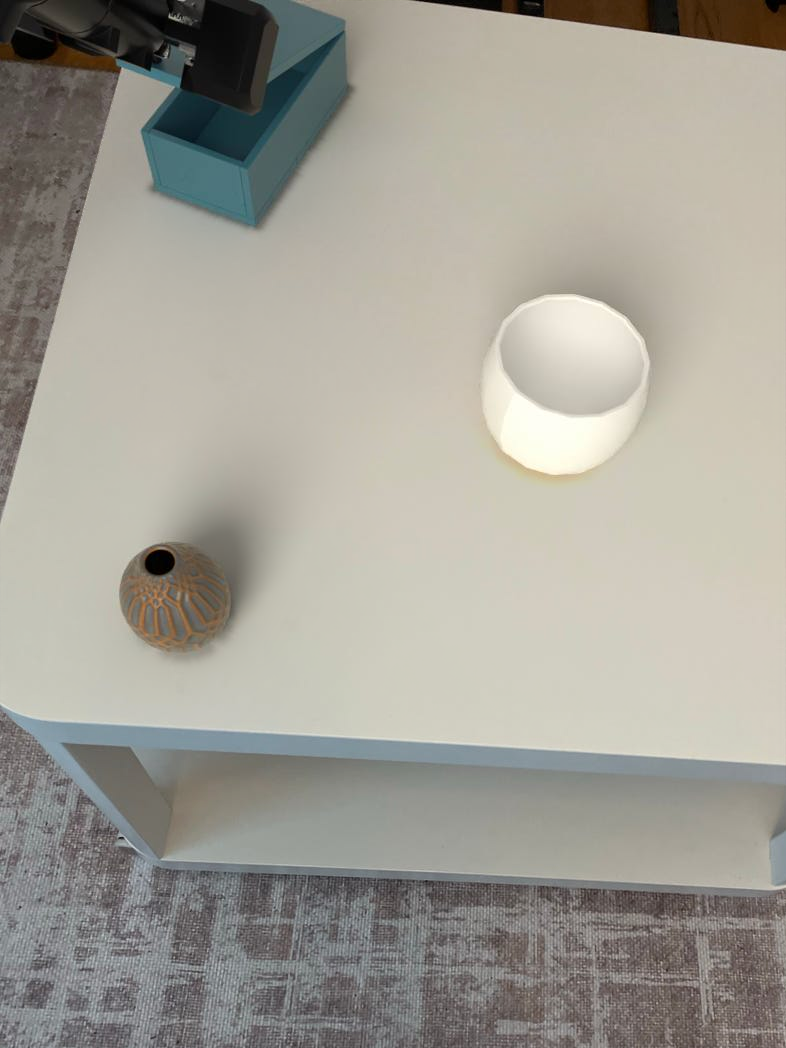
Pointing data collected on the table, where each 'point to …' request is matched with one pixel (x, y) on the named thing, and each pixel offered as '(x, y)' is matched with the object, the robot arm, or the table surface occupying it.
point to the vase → (175, 597)
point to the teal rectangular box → (244, 137)
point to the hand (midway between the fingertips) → (192, 53)
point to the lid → (294, 42)
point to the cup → (564, 383)
